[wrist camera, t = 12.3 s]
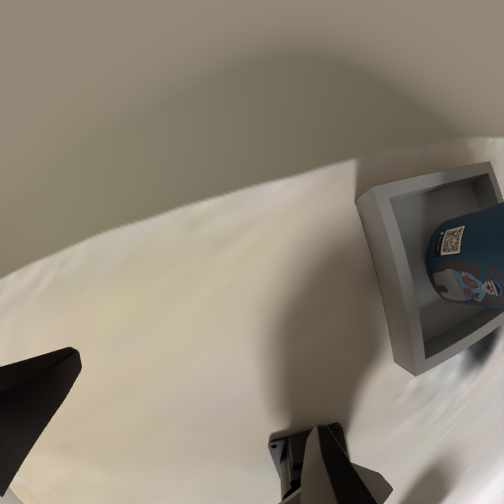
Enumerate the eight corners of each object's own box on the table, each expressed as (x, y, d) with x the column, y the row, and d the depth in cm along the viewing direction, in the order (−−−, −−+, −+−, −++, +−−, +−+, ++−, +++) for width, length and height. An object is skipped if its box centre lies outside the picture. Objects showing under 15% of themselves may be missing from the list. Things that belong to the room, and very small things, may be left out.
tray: (497, 304, 20) (522, 307, 16) (394, 362, 20) (415, 376, 16) (466, 173, 21) (489, 161, 17) (354, 201, 21) (371, 186, 17)
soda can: (480, 241, 19) (575, 221, 7) (462, 312, 19) (563, 327, 7) (430, 208, 20) (530, 163, 8) (408, 285, 20) (520, 292, 8)
